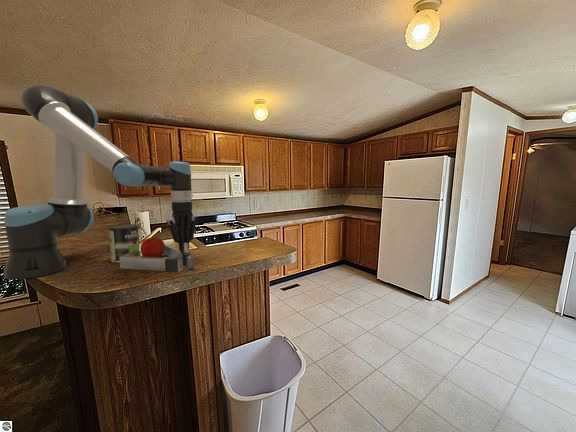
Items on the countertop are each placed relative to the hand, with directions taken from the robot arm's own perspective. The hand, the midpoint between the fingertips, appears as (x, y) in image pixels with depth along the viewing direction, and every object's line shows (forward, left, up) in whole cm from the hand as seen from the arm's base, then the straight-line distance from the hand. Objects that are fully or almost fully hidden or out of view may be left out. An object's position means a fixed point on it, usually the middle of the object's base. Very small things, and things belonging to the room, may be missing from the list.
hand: (184, 257), depth 98 cm
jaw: (-4, -1, -1) cm, 5 cm away
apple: (-10, -5, -2) cm, 11 cm away
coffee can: (-26, -1, -2) cm, 26 cm away
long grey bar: (-5, -10, -1) cm, 11 cm away
